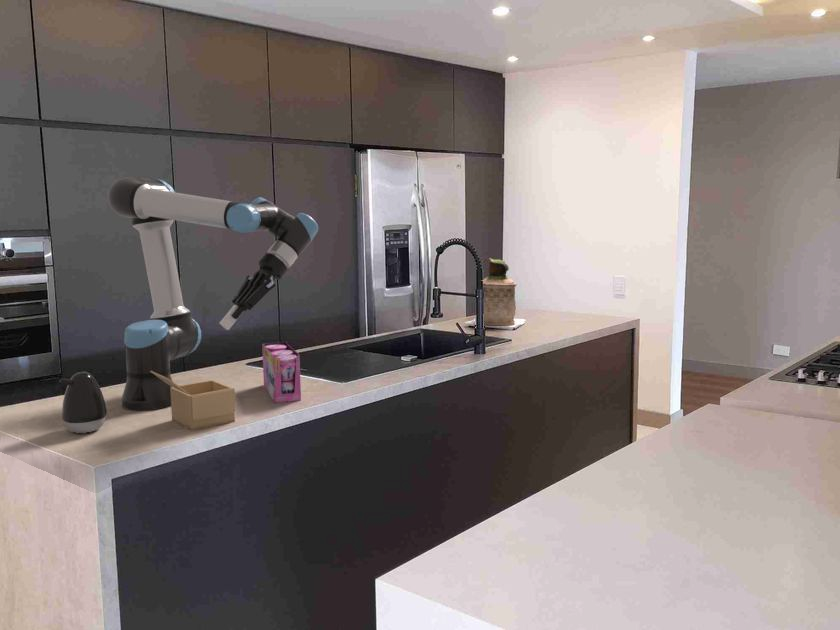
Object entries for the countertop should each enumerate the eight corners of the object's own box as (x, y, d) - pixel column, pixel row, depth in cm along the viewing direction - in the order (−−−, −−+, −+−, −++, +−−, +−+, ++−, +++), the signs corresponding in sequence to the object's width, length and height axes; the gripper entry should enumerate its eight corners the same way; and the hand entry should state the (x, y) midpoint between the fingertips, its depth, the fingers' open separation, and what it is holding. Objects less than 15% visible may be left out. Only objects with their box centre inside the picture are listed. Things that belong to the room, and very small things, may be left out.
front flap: (171, 385, 188) (170, 386, 188) (151, 370, 184) (150, 371, 184) (189, 393, 180) (188, 394, 180) (168, 378, 176) (167, 379, 175)
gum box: (302, 402, 208) (301, 356, 206) (275, 404, 205) (274, 358, 203) (287, 383, 230) (286, 341, 228) (262, 385, 227) (261, 343, 225)
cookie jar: (515, 330, 326) (516, 260, 321) (463, 327, 334) (464, 259, 329) (527, 322, 348) (528, 256, 344) (478, 319, 357) (479, 255, 352)
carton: (171, 419, 190) (169, 386, 189) (215, 411, 198) (213, 379, 197) (192, 431, 180) (190, 396, 179) (237, 421, 189) (235, 388, 187)
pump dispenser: (56, 431, 181) (51, 372, 178) (97, 421, 188) (93, 365, 186) (72, 439, 174) (67, 379, 171) (114, 430, 181) (110, 371, 179)
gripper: (298, 271, 195) (244, 338, 187) (274, 268, 205) (222, 332, 197) (280, 252, 191) (224, 320, 183) (257, 250, 201) (203, 315, 193)
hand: (223, 326), depth 190 cm, fingers closed
